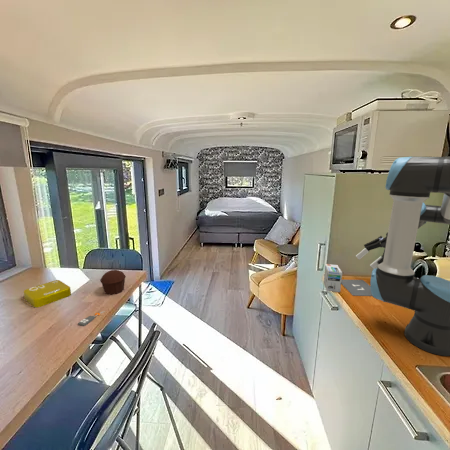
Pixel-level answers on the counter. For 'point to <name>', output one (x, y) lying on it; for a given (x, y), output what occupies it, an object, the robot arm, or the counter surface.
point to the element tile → (47, 293)
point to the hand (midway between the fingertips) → (364, 262)
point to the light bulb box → (332, 277)
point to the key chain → (88, 319)
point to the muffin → (113, 282)
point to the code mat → (357, 287)
